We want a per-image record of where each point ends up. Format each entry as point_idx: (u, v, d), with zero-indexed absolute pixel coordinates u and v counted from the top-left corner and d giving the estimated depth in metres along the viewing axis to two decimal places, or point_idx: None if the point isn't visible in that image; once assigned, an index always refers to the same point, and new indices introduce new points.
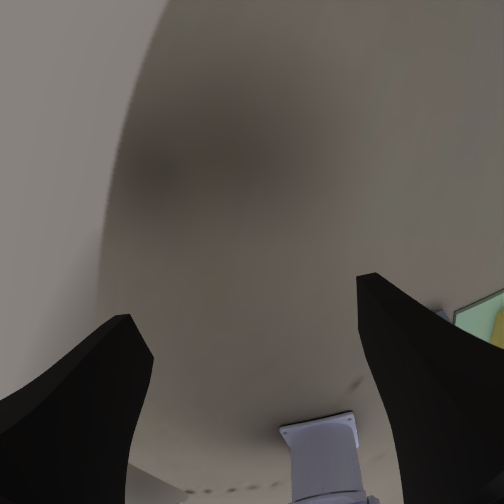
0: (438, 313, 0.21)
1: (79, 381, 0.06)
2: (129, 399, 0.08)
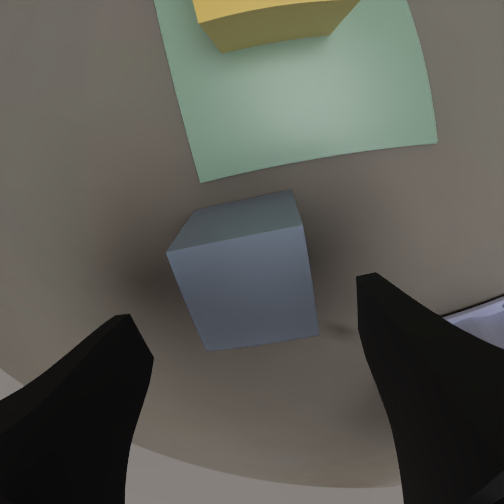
0: None
1: (79, 381, 0.06)
2: (128, 399, 0.08)
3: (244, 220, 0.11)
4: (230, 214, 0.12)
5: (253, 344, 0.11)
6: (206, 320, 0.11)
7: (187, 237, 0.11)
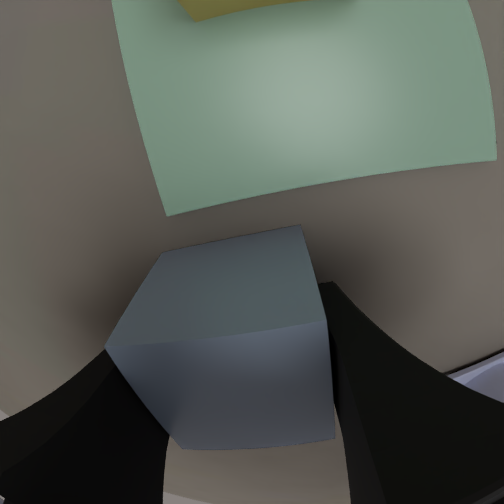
0: None
1: (117, 383, 0.06)
2: None
3: (227, 290, 0.07)
4: (206, 271, 0.08)
5: (244, 448, 0.07)
6: (177, 424, 0.07)
7: (139, 316, 0.06)
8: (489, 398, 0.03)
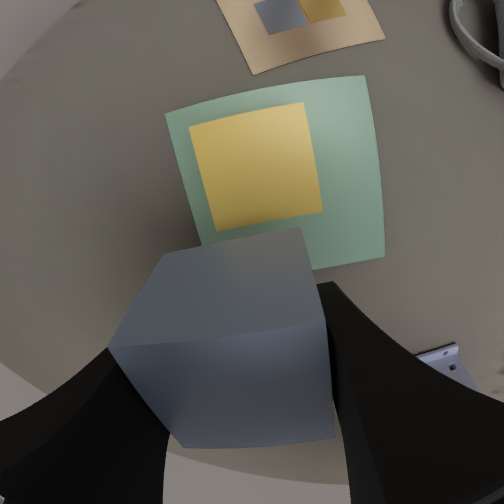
0: None
1: (117, 383, 0.06)
2: None
3: (229, 291, 0.07)
4: (208, 273, 0.08)
5: (244, 446, 0.07)
6: (178, 423, 0.07)
7: (141, 316, 0.07)
8: (489, 398, 0.03)
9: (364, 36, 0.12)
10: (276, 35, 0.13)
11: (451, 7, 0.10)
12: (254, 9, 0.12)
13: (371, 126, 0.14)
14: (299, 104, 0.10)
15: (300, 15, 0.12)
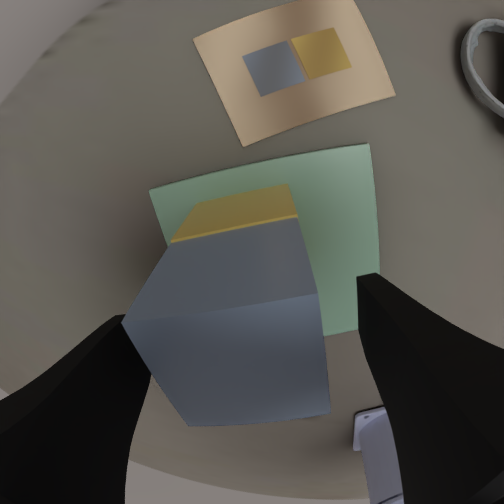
0: None
1: (79, 381, 0.06)
2: (128, 399, 0.08)
3: (232, 272, 0.07)
4: (213, 257, 0.09)
5: (246, 423, 0.08)
6: (184, 399, 0.08)
7: (152, 296, 0.07)
8: None
9: (371, 93, 0.12)
10: (269, 97, 0.12)
11: (464, 49, 0.09)
12: (243, 63, 0.12)
13: (373, 201, 0.14)
14: (292, 217, 0.10)
15: (297, 70, 0.12)
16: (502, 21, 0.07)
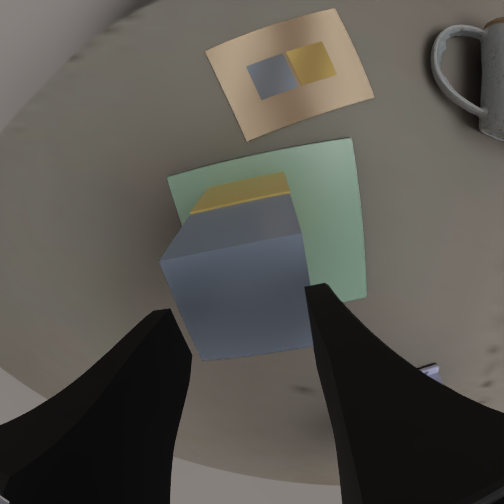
0: None
1: (125, 383, 0.06)
2: (171, 400, 0.08)
3: (241, 226, 0.10)
4: (226, 219, 0.11)
5: (250, 354, 0.11)
6: (202, 330, 0.10)
7: (181, 244, 0.10)
8: (477, 404, 0.03)
9: (353, 96, 0.15)
10: (268, 100, 0.15)
11: (432, 54, 0.12)
12: (247, 72, 0.14)
13: (356, 186, 0.17)
14: (286, 193, 0.13)
15: (291, 77, 0.14)
16: (469, 26, 0.10)
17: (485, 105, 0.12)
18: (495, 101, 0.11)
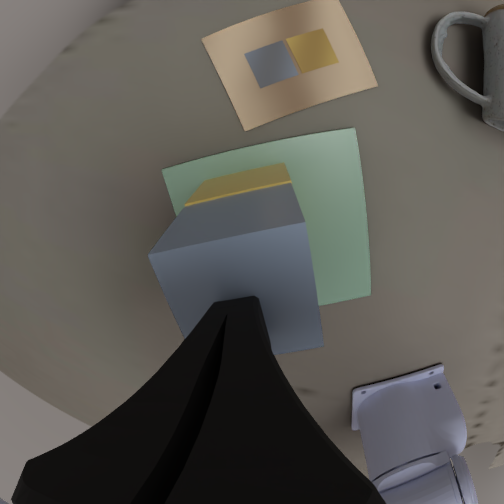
0: None
1: (207, 381, 0.06)
2: None
3: (238, 217, 0.09)
4: (222, 210, 0.10)
5: None
6: None
7: (173, 237, 0.09)
8: (329, 449, 0.03)
9: (356, 84, 0.14)
10: (267, 88, 0.14)
11: (433, 41, 0.11)
12: (245, 60, 0.14)
13: (360, 178, 0.16)
14: (287, 182, 0.12)
15: (291, 65, 0.14)
16: (469, 13, 0.09)
17: (489, 93, 0.11)
18: (499, 89, 0.10)
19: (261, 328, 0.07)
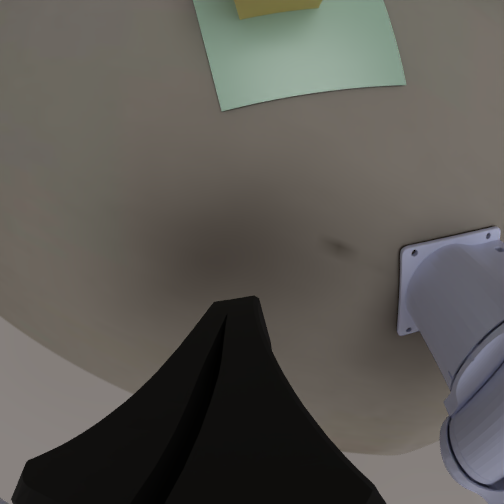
0: None
1: (207, 381, 0.06)
2: None
3: None
4: None
5: None
6: None
7: None
8: (329, 449, 0.03)
9: None
10: None
11: None
12: None
13: None
14: None
15: None
16: None
17: None
18: None
19: (261, 328, 0.07)
